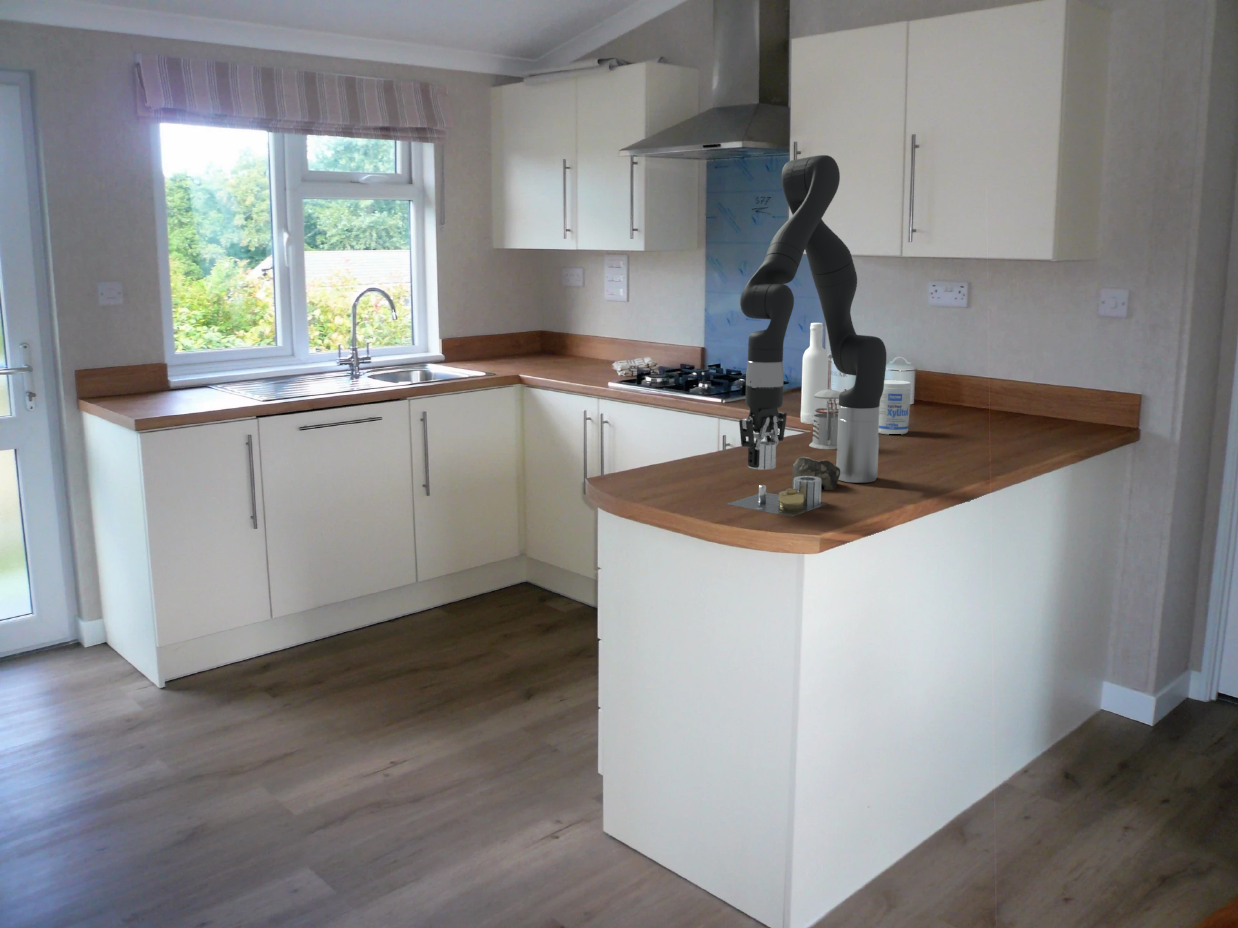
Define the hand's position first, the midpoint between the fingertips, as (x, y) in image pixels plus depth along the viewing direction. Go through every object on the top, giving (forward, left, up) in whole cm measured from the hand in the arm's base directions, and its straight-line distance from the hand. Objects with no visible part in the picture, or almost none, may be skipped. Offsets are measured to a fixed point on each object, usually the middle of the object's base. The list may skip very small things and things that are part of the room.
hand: (762, 464), depth 222 cm
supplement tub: (-98, -22, -9) cm, 101 cm away
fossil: (-21, 0, -10) cm, 23 cm away
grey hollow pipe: (-6, +7, -8) cm, 12 cm away
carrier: (-1, +3, -9) cm, 10 cm away
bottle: (-99, -48, -9) cm, 110 cm away
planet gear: (0, 0, 0) cm, 0 cm away
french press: (-68, -25, -9) cm, 73 cm away
